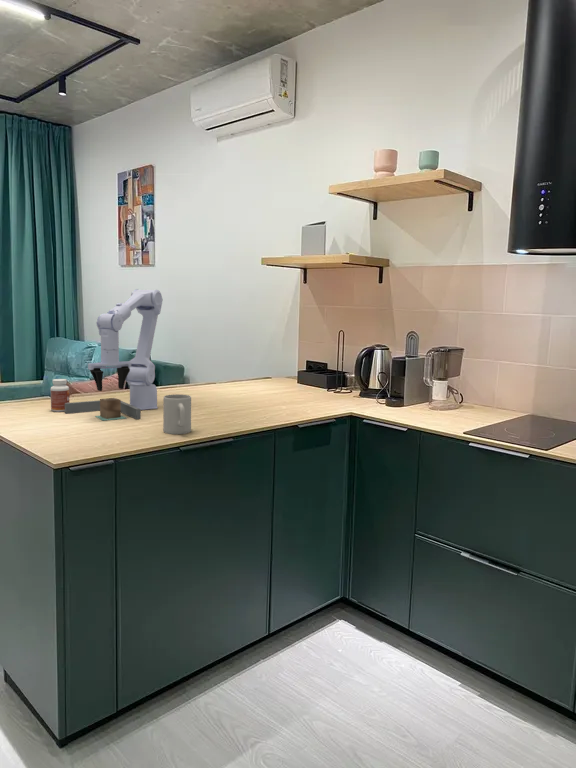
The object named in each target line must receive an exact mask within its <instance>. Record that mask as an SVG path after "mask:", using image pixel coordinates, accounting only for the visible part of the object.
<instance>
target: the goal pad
mask: <svg viewBox="0 0 576 768" xmlns="http://www.w3.org/2000/svg"><path fill="white" fill-rule="evenodd" d="M94 417H95V418H97V419H99V420H101V421H103V422H105V421H115V420H125V419H127V417H125V416H124V415H121V417H118V418H110V419H106V418H103V417H101V416H100V415H95V416H94Z"/></svg>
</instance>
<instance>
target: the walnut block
mask: <svg viewBox="0 0 576 768" xmlns="http://www.w3.org/2000/svg"><path fill="white" fill-rule="evenodd" d="M99 400H100V411H99V412H100V413H99V416H101V417H103V418H106V419H110V418H118V417H121V416H122V414H121V401H122V400H121V399H119V398H116V397H110V398H109V397H108V398H100V399H99Z"/></svg>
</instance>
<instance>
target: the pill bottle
mask: <svg viewBox="0 0 576 768" xmlns="http://www.w3.org/2000/svg"><path fill="white" fill-rule="evenodd" d="M67 383H68V381H67V378H54V379H52V386H51V387H50V408H51V409H50V410H51V411H52V412H56V413H61V412H62V413H63V412H64V413H65V403H71V402H70V386H68V385H67Z"/></svg>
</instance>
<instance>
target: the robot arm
mask: <svg viewBox="0 0 576 768" xmlns="http://www.w3.org/2000/svg"><path fill="white" fill-rule="evenodd" d="M162 305H163V296H162V293H161V291H160V290H159V289H139V288H136V289H134V290H132V291H131V293H130V297H129V298H128V299H127V300H126V301H124V303H123V302H117V303H115V306H114V307H112V308H110V309H109V310H108V312H107V313H105V312H103V313H101V314H100V315H99V316H98V317H97V318H96V319H97V321H96V322H95V324H96V327H97V329H98V334H99V337H100V362H91V363H90V362H89V363H87V369H88V370H89V372H90V374H91V376H92V377H93V379H94V382H95V386H96V390H97V391H99V392H102V391H103V375H104V371H103V369H104V370H105V369H106V370H107V369H116V372H117V384H118V385H117V387H118V389H120V390H123V389H124V387H125V383H127V385H128V386H129V404H130V405H133V406H135V407H137V408H140V409H141V410H142V411H144V410H153V409H158V408H159V407H158V389H157V386H156V385H155V384H154V381H155V378H156V373H155V370H156V365H155V364H154V363H153V362H152V360H150V358H151V354H152V348H153V343H154V337H155V332H156V327H157V322H158V316H159V315H160V314H161V310H162ZM134 310H136V311H137V313H138V314H140V316H141V315H142V320H141V326H140V331H139V337H138V342H137V346H136V352H135V356H134V357H133V358H131V359H130V360H129V361H128V360H127V361H123V360H122V361H121V360H120V350H119V349H120V347H119V346H120V342H119V341H120V340H119V337H120V336H119V335H120V334H119V332H120V331H121V329H122V327H123V324H124V322H125V321H126V320H128V319H129V318H130V317H131V316H132V311H134Z"/></svg>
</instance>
